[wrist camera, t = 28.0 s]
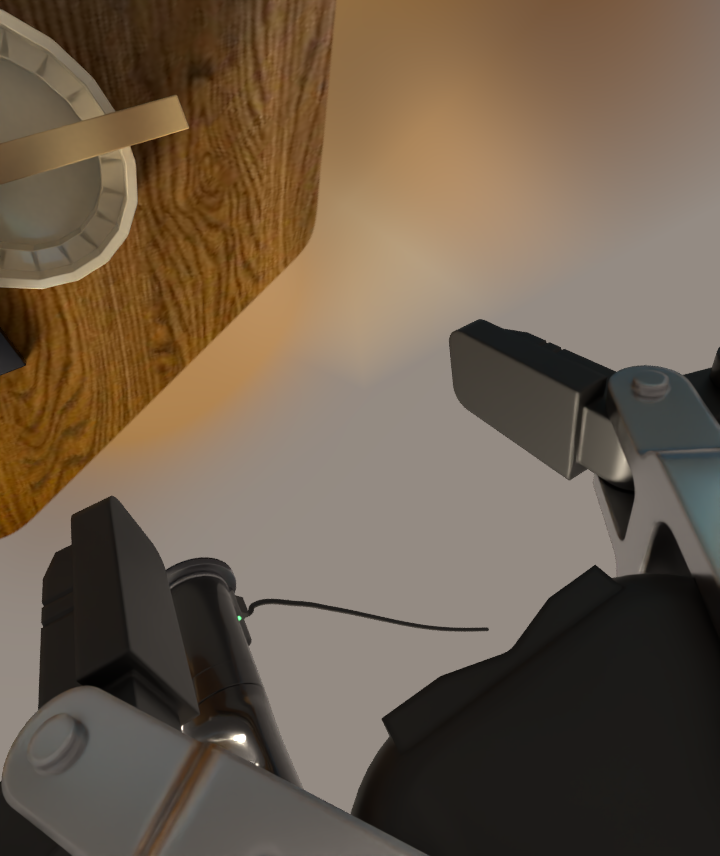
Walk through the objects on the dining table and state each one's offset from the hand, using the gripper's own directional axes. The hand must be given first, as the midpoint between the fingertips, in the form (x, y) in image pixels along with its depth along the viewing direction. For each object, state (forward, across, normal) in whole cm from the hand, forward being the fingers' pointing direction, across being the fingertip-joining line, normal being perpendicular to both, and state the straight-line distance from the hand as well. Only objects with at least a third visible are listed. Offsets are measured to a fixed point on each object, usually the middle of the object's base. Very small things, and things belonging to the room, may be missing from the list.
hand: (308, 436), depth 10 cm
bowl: (+40, +6, -5) cm, 41 cm away
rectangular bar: (+34, +6, -5) cm, 35 cm away
